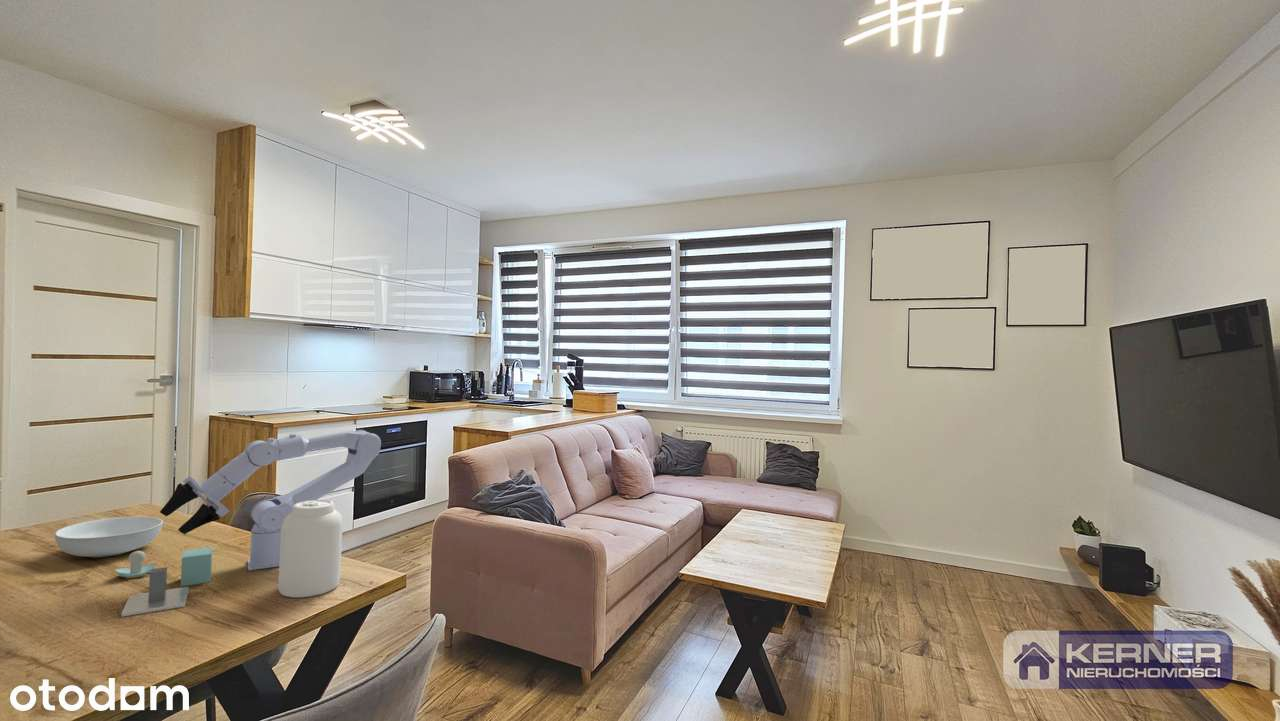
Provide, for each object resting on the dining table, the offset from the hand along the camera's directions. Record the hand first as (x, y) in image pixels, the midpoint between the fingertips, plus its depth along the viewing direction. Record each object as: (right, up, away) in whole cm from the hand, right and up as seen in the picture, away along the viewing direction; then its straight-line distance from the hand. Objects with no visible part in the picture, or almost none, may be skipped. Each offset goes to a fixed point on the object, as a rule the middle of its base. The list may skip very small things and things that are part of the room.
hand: (171, 523), depth 132 cm
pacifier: (-11, -14, +3) cm, 18 cm away
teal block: (+5, -14, +1) cm, 15 cm away
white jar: (+32, -15, 0) cm, 36 cm away
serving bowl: (-31, -13, +17) cm, 37 cm away
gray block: (+6, -14, -11) cm, 19 cm away
